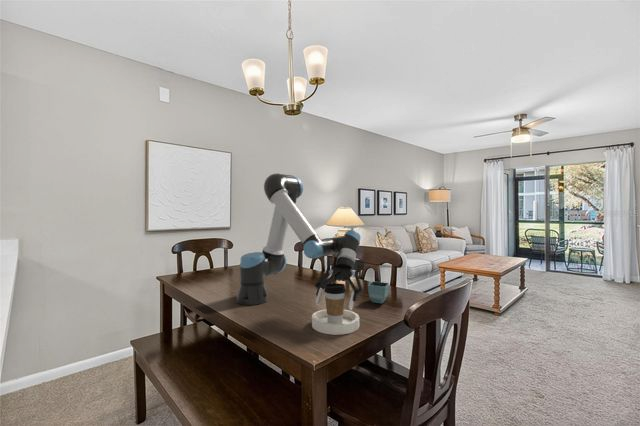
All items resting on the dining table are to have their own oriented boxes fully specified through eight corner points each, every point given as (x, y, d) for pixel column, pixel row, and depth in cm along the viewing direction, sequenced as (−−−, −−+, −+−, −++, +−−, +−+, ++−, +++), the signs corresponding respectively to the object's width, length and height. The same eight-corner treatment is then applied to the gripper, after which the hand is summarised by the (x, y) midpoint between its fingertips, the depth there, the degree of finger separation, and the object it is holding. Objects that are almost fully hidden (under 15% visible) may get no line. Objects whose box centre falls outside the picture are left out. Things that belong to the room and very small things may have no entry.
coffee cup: (339, 328, 116) (339, 288, 116) (320, 323, 121) (320, 285, 120) (349, 321, 123) (349, 283, 123) (331, 317, 128) (331, 281, 128)
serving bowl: (325, 338, 109) (325, 328, 109) (304, 321, 126) (304, 312, 126) (368, 329, 118) (368, 320, 118) (343, 314, 134) (343, 306, 134)
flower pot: (389, 300, 154) (389, 282, 154) (385, 305, 146) (385, 286, 146) (372, 298, 158) (372, 281, 158) (367, 303, 150) (367, 284, 150)
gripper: (375, 268, 131) (366, 315, 117) (321, 264, 141) (307, 306, 127) (372, 257, 126) (362, 305, 112) (316, 254, 136) (301, 297, 122)
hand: (333, 306), depth 120 cm, fingers open, 13 cm apart
